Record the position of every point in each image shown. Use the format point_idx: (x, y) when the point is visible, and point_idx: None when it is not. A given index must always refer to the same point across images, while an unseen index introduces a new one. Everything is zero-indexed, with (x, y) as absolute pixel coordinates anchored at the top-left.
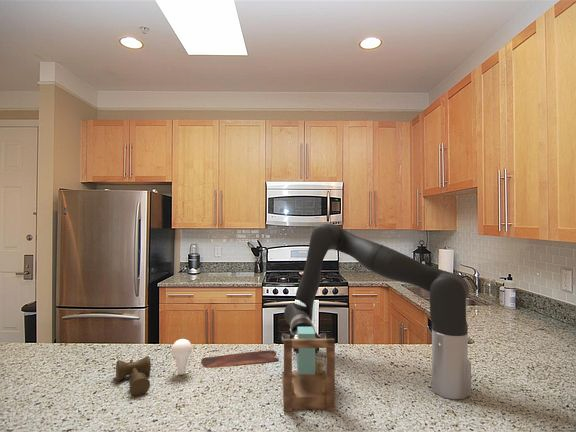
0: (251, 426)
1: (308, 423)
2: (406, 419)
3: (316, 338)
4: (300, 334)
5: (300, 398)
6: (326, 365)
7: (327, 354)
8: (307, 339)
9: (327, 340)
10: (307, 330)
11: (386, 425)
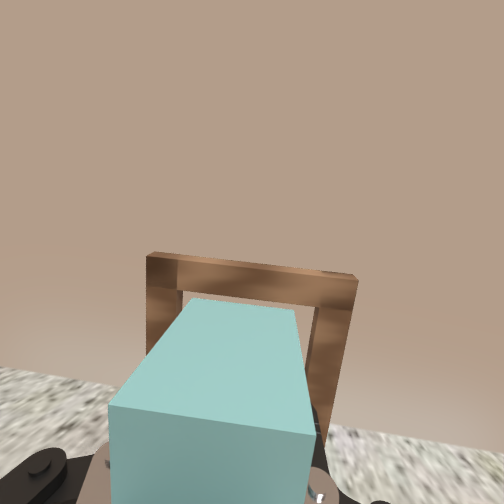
0: (380, 435)
1: None
2: (10, 394)
3: (85, 487)
4: (282, 312)
5: None
6: None
7: (180, 305)
8: (258, 265)
9: (182, 255)
10: (221, 335)
11: (80, 386)
